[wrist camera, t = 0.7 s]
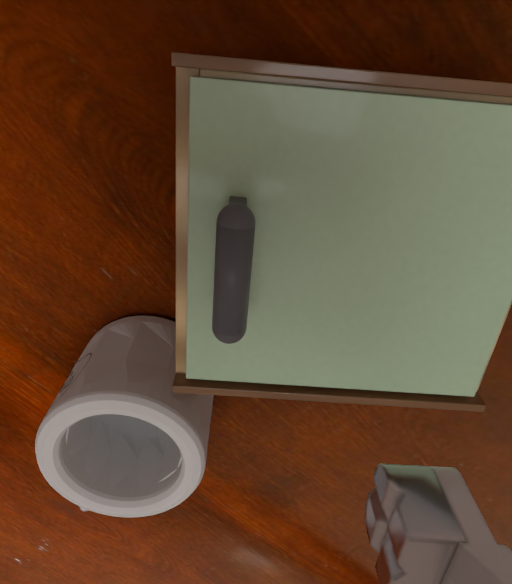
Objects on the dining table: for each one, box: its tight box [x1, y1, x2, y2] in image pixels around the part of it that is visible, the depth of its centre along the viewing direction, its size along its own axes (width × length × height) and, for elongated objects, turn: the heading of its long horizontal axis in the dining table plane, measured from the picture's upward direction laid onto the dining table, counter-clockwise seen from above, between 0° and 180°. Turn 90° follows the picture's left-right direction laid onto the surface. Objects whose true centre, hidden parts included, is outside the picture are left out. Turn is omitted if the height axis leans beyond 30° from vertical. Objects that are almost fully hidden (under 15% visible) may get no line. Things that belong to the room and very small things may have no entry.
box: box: [171, 52, 512, 412], centre depth 26 cm, size 17×18×10 cm
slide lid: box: [186, 75, 512, 397], centre depth 21 cm, size 15×17×4 cm
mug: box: [35, 316, 214, 517], centre depth 33 cm, size 14×11×10 cm
